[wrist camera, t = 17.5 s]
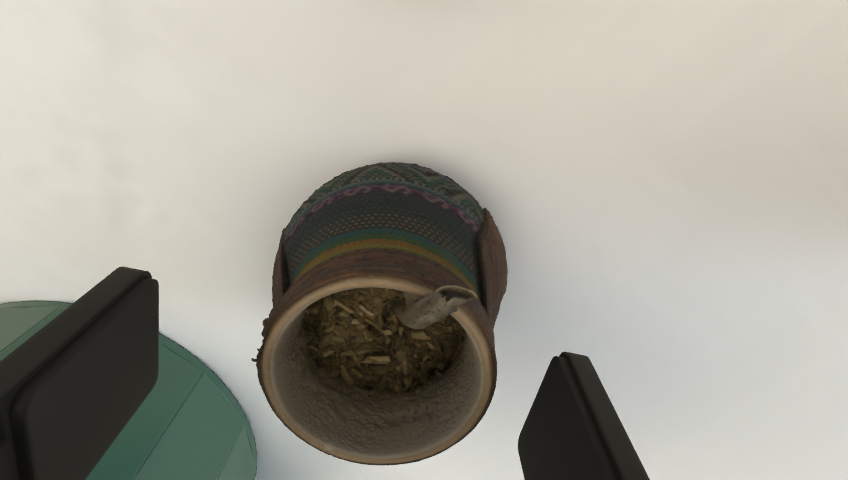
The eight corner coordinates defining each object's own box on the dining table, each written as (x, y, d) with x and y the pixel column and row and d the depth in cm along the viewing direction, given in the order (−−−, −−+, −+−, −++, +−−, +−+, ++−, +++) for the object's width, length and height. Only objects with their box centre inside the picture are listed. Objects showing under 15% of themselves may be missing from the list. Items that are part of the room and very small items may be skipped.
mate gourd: (289, 294, 19) (157, 541, 10) (320, 108, 16) (171, 221, 7) (461, 334, 20) (485, 600, 11) (523, 162, 17) (630, 330, 8)
